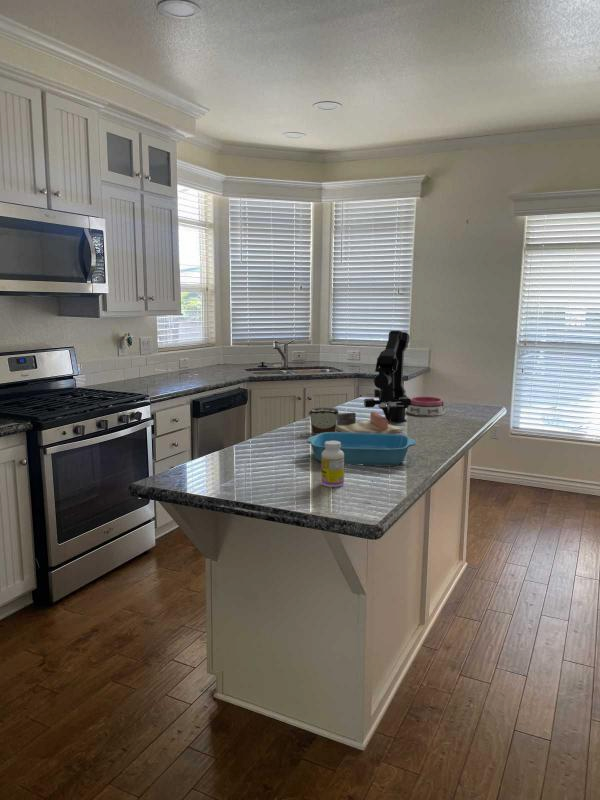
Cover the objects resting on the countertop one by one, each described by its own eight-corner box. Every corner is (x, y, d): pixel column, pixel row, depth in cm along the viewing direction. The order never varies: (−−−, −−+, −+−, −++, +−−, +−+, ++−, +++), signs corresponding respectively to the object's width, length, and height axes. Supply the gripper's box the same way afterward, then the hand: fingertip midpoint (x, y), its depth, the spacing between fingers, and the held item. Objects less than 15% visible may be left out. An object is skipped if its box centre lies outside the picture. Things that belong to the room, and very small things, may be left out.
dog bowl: (444, 417, 274) (445, 403, 273) (404, 415, 279) (404, 401, 278) (446, 410, 292) (446, 396, 291) (408, 408, 297) (408, 395, 296)
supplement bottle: (320, 481, 178) (320, 439, 176) (341, 480, 178) (342, 439, 176) (322, 488, 171) (322, 445, 169) (345, 487, 172) (345, 444, 170)
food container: (339, 431, 246) (339, 407, 244) (338, 434, 240) (338, 410, 238) (309, 430, 247) (309, 407, 246) (308, 433, 241) (308, 409, 240)
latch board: (376, 423, 261) (376, 409, 260) (402, 432, 243) (402, 417, 242) (332, 427, 252) (332, 414, 251) (356, 437, 234) (356, 422, 233)
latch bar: (369, 421, 257) (369, 411, 256) (375, 420, 257) (375, 411, 256) (381, 429, 240) (381, 419, 239) (387, 429, 240) (388, 419, 240)
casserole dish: (301, 465, 197) (301, 444, 195) (313, 448, 218) (313, 429, 217) (414, 471, 189) (415, 449, 188) (415, 453, 211) (415, 433, 210)
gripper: (405, 381, 250) (406, 417, 252) (361, 383, 249) (362, 419, 252) (411, 385, 239) (411, 423, 241) (365, 387, 238) (366, 425, 241)
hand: (387, 422), depth 244 cm, fingers closed
